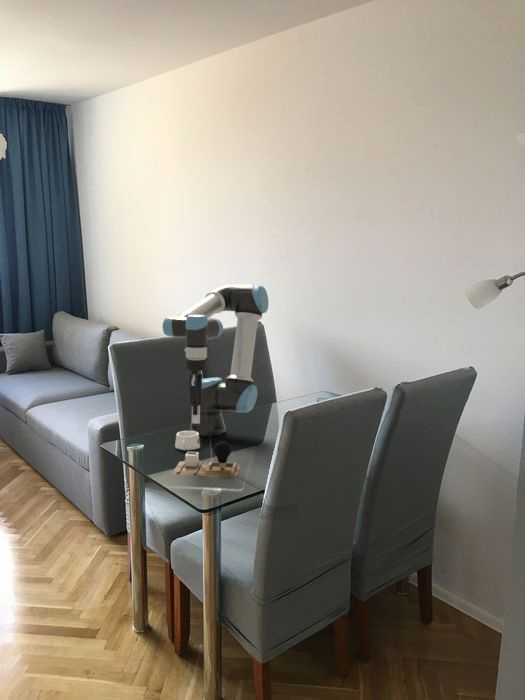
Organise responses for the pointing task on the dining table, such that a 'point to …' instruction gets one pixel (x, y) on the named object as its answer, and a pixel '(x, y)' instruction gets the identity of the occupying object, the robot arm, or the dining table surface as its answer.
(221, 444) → the light bulb
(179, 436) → the mug
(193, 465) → the white block
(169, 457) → the dining table surface
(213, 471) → the wooden tray
